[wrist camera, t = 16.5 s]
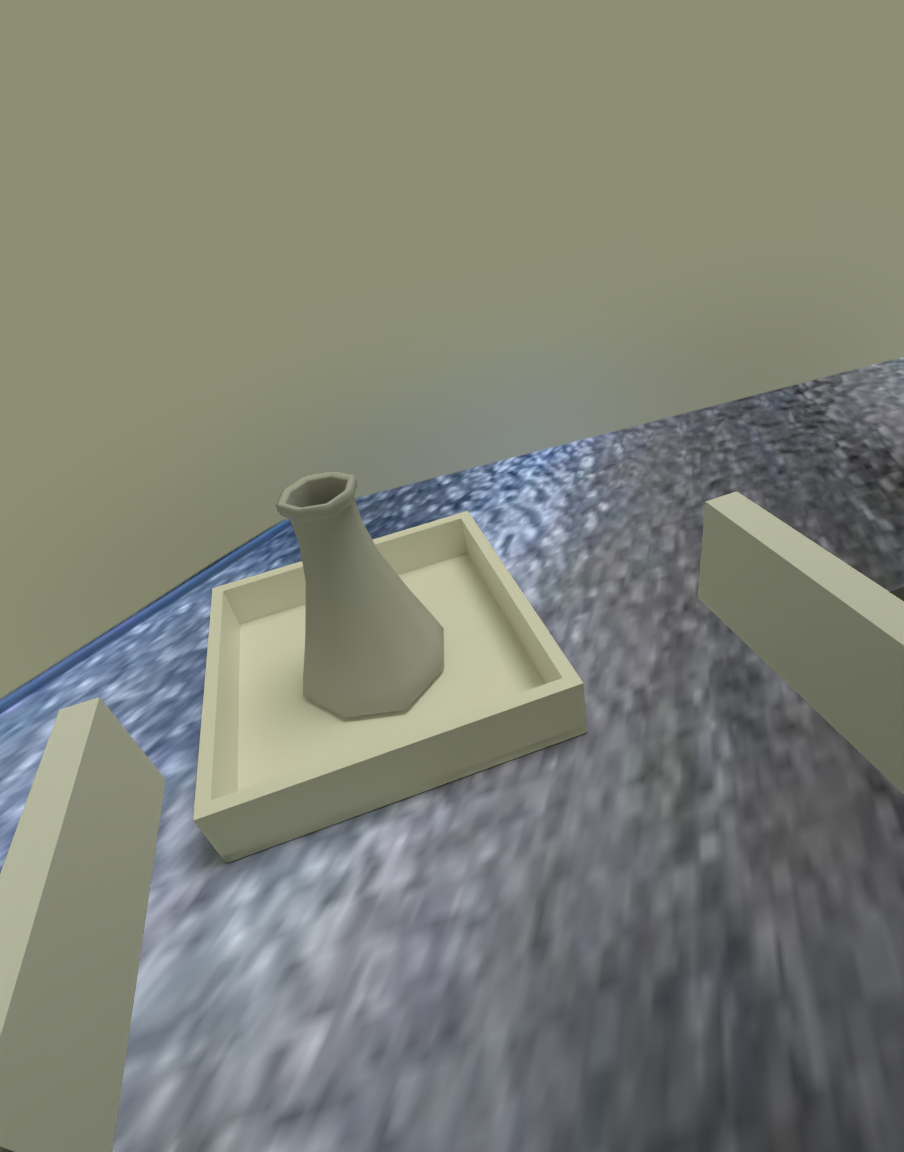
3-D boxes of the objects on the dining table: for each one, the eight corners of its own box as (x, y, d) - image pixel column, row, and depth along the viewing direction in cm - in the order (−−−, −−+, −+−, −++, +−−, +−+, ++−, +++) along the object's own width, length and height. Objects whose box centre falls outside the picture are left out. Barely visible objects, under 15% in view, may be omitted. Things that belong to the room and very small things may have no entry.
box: (475, 552, 37) (467, 511, 35) (586, 732, 25) (583, 683, 23) (233, 628, 35) (212, 588, 34) (226, 863, 23) (193, 820, 21)
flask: (344, 612, 34) (285, 450, 28) (466, 622, 31) (428, 446, 25) (279, 712, 28) (189, 537, 23) (419, 732, 26) (358, 542, 20)
